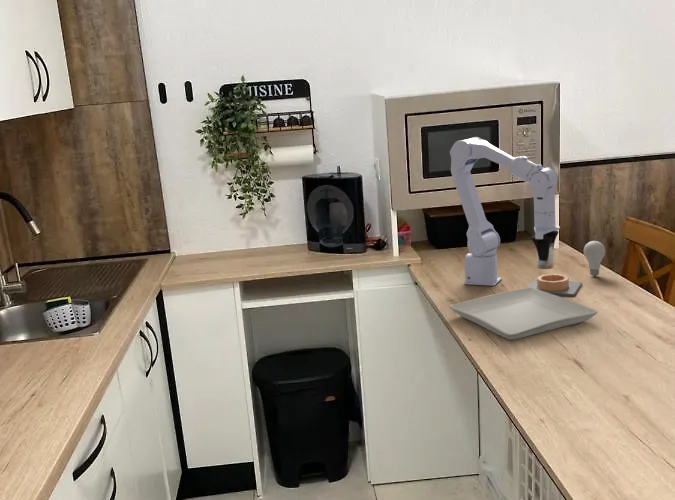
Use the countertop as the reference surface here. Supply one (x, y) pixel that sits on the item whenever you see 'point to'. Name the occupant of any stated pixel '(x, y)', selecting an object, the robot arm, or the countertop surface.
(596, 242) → the lightbulb
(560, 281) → the duct flange
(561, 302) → the square plate
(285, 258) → the countertop surface
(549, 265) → the silver metal cylinder
